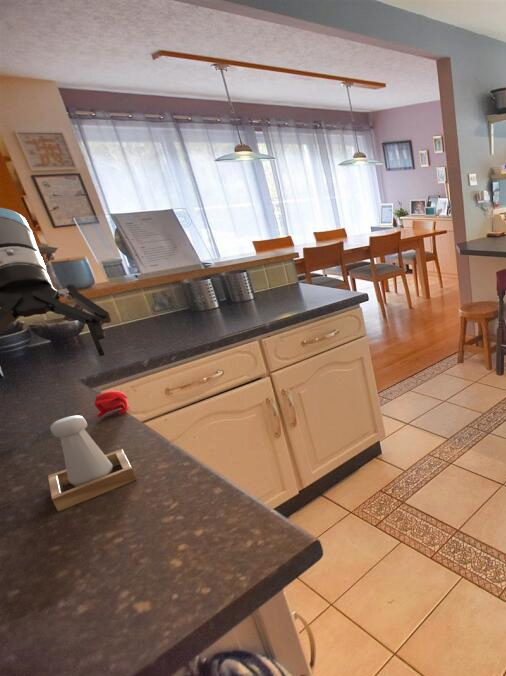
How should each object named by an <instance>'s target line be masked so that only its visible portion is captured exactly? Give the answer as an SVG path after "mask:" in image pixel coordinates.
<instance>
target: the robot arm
mask: <svg viewBox="0 0 506 676" xmlns="http://www.w3.org/2000/svg"><path fill="white" fill-rule="evenodd" d="M53 286H54V285H53V283H52V281H51V278H50V276H49V274H48V271H47V267H46V265H45V262H44V260H43V257H42V256H41V253H40V250H39V247H38V245H37V242H36V239H35V236H34V234H33V230H32V229H31V228H30V226H29V223H28V222H27V220H26V218H25V217H24V216H23V215H22V214H20V213H18V212H16V211H15V210H12V209H8V208H4V207H0V335H1V334H2V333H3V332H4V331H5V330H6V329H7V328H8V327H9V326H10V325H11V324H12V323H15V322H16V321H17V320H18V319H19V318H20V317H23V318H29V317H32V316H35V315H36V316H37V315H39V316H40V315H46V314H47V313H49V312H51V313H54V314H57V315H62V316H64V317H67V318H69V319H72V320H74V321H77V322H79V323H82V324H85V325H87V328H88V331H89V333H90V336H91V338H92V341H93V343H94V346H95V349H96V351H97V353H98V356H99V357H102V356H105V352H104V349H103V347H102V344H101V342H100V340H104V339H106V334H105V332H104V328H103V325H104V324H110V323H111V322H112V318H111V316H110V312H108V311H107V310H105V309H104V308H102V307H101V306H99V305H98V304H97V303H95V302H94V301H92V300H90V299H89V298H88V297H86V296H85V295H83V294H82V293H80V292H79V290H78V289H77V288H76V286H75V285H74V284H70V283H69V284H67V285H66V286H65V287H66V288H61V289H55V288H54V287H53ZM62 297H63V298H66V299H67V300H70V301H73V302H74V303H75V304H76V305H78V306H79V307H81V308H82V309H83V310H82V309H79V308H77V307H75V306H71V305H69V304H67V303H64V302H62V301H61V300H60V298H62ZM84 310H85V311H84ZM4 378H5V376H4V373H3V370H2V367H1V366H0V380H1V379H4Z"/></svg>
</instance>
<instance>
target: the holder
mask: <svg viewBox="0 0 506 676" xmlns="http://www.w3.org/2000/svg"><path fill="white" fill-rule="evenodd" d="M104 455H105V456H106V457H107V458H108V460H109V461H110V462H111V463H112V466H113V468H114V467H117V466H120V467H121V469H119V470H116V471H114V472H112V473H111V474H109V475H106V476H104V477H101V478H98V479H96V480H93V481H91V482H88V483H86V484H83V485H80V486H78V487H75V486H74V487H73V488H70V489H68V490H64V487H65V486H68V485H71V483H70V482H69V480H68V477H67V471H66V468H65V469H63V470H60V471H56V472H55V473H52V474H49V475H47V478H48V483H49V484H48V485H49V490H50V496H51V500H52V502H53V505H54V506H55V509H56V510H57V512H59V513H60V512H61V511H63V510H66V509H68V508H71V507H73V506H76V505H78V504H81V503H83V502H86V501H88V500H90V499H93V498H95V497H98V496H100V495H103V494H105V493H108V492H110V491H113V490H115V489H118V488H120V487H123V486H125V485H128V484H130V483H132V482H135V481H137V479H138V478H137V476H136V474H135V472H134V469H133V467H132V465H131V464H130V463H131V462H129V459H128V458H127V455H126V454H125V452H124V449H123V448H120V449H118V450H115V451H113V452H109V453H107V454H104Z"/></svg>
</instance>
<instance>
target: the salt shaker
mask: <svg viewBox="0 0 506 676" xmlns="http://www.w3.org/2000/svg"><path fill="white" fill-rule="evenodd" d="M87 427H88V423H87V420H86V419H85V417H83V415H70V416H66V417H63V418H60V419H58V420H56V421H54V422H53V423H52V424H50V432H51V434H52V435H53V436H54V437H55V438H60V444H61V448H62V453H63V458H64V465H65V469H66V471H67V477H68V480H69V482H70V485H72V486H74V488H75V487H78V486H80V485H83V484H86V483H88V482H91V481H93V480H96V479H98V478H101V477H104V476H106V475H109V474H111V473H113V468H114V467H113V466H112V463H111V462H110V461H109V460H108V458H107V457H106V456H105V455H106V454H105V453H104V452H103V450H102V449H101V448H100V447H99V445H98V444H97V443H96V441H94V439H93V437H91V436H90V434H89V433H88V431H86V428H87Z"/></svg>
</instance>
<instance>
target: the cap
mask: <svg viewBox="0 0 506 676" xmlns="http://www.w3.org/2000/svg"><path fill="white" fill-rule="evenodd" d="M94 406H95V408H96V409H97V410H98V412H99V413H97V415H96V416H97V418H101V417H103V416H104V415H106V414H107V413H110V412H112V411H116V410H119V409H120V410H119V412H118V413H117V414H118V415H119V416H123V414H125V413H126V412H127V411H128V410H129V409H130V406H129V403H128V396H127V394H125V393H124V392H122V391H121V390H120V391H119V390H106V391H104V392H101V393H100V394H97V395H96V397H95V399H94Z"/></svg>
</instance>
